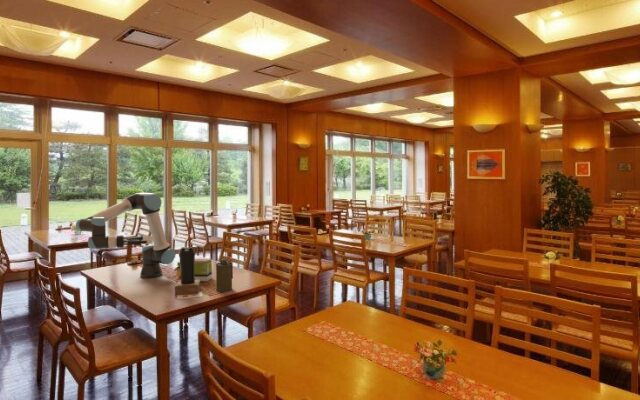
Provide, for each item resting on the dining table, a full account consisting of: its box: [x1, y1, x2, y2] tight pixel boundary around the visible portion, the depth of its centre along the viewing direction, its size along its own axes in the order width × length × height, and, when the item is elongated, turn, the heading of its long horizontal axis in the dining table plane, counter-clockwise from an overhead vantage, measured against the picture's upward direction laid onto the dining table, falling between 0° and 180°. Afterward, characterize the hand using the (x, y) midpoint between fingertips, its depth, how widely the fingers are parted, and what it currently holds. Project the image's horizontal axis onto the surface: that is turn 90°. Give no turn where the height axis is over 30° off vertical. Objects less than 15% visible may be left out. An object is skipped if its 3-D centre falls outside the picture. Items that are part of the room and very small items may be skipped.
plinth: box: [174, 279, 202, 297], centre depth 257 cm, size 14×14×6 cm
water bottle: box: [178, 246, 196, 284], centre depth 256 cm, size 10×10×23 cm
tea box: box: [195, 258, 213, 282], centre depth 286 cm, size 15×10×15 cm
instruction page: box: [176, 291, 203, 300], centre depth 250 cm, size 10×15×1 cm, turn 109°
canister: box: [215, 258, 234, 293], centre depth 262 cm, size 11×10×20 cm
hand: (153, 239), depth 256 cm, fingers open, 13 cm apart
